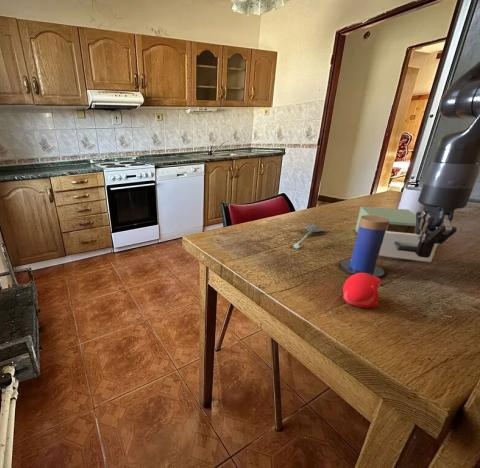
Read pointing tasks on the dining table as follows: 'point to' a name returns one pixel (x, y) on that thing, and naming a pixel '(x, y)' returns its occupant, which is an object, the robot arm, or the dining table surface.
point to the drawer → (402, 243)
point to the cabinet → (389, 215)
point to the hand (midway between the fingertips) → (421, 255)
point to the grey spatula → (311, 229)
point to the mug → (411, 200)
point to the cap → (361, 290)
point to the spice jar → (368, 242)
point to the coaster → (377, 271)
